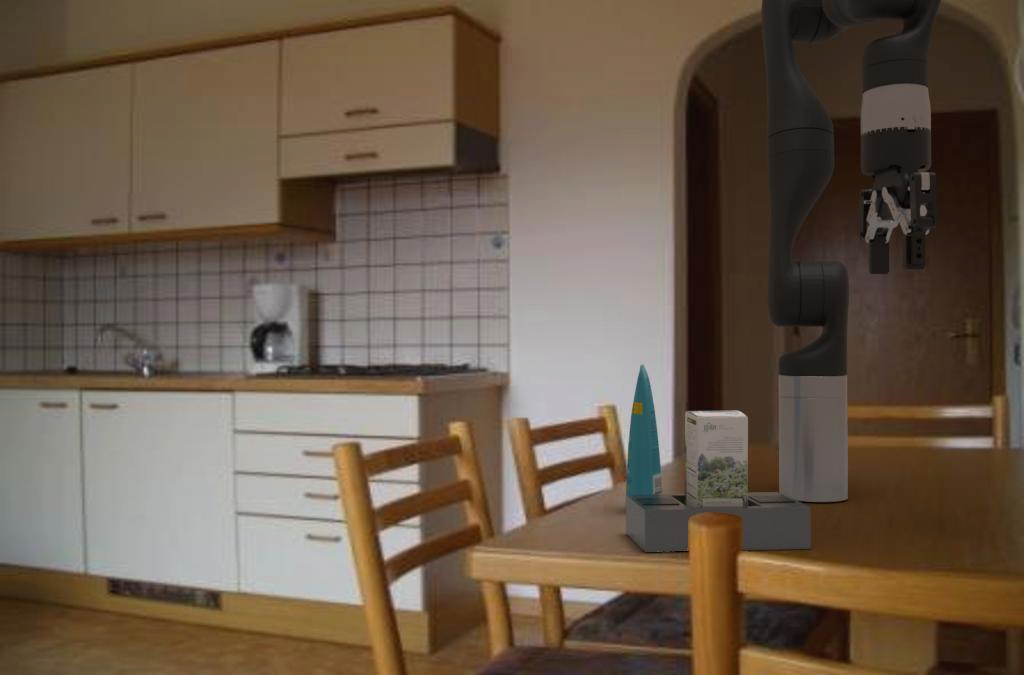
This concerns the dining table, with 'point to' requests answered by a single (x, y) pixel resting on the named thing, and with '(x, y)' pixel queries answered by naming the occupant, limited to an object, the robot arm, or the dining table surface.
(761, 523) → the grey open box
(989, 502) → the dining table surface
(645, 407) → the tube
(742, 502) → the syrup box
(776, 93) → the robot arm
